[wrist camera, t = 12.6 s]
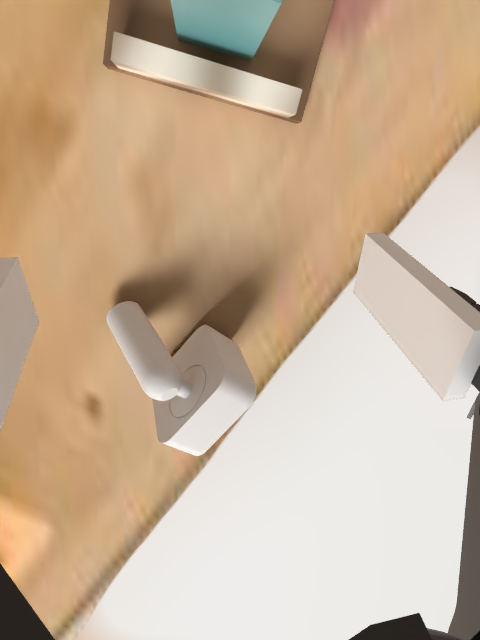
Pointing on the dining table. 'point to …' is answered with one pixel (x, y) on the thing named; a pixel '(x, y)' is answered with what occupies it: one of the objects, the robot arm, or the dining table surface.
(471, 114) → the dining table surface
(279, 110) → the display stand
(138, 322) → the wall hook
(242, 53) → the teal upright prism
